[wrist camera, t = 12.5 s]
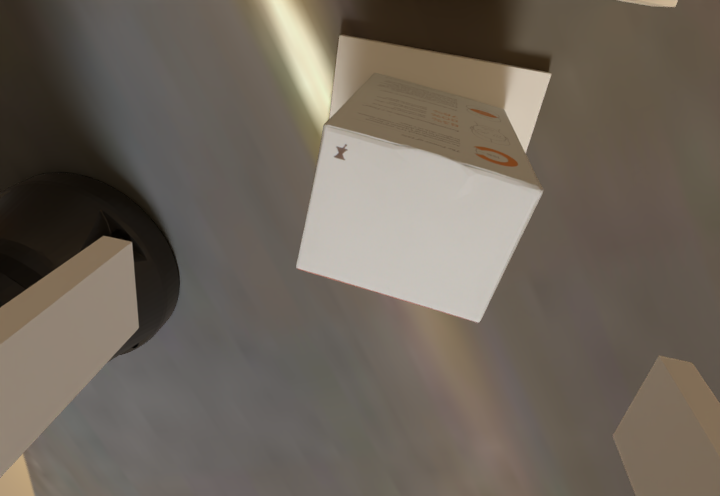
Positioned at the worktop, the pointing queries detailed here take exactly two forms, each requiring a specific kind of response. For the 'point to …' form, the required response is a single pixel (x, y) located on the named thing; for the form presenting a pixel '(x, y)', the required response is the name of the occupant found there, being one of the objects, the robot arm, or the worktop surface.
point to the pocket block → (654, 2)
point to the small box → (418, 197)
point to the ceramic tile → (442, 78)
